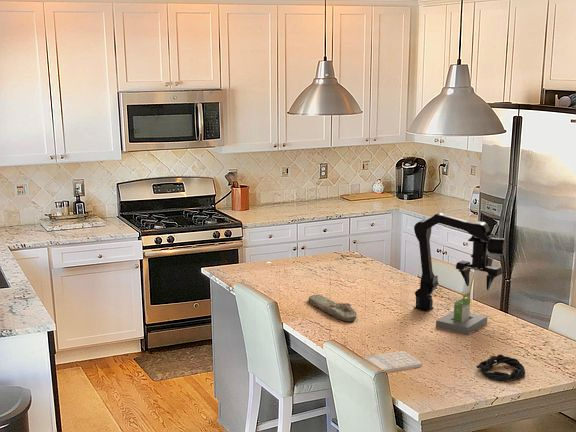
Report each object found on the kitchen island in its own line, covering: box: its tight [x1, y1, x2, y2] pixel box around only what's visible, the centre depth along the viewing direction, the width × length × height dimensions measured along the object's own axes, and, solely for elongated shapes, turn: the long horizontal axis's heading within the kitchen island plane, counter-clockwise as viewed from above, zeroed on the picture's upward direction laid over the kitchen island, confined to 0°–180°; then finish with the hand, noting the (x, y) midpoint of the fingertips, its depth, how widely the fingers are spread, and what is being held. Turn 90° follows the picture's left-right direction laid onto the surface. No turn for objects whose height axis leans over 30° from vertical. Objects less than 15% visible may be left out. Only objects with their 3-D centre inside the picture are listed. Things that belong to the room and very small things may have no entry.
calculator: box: [362, 350, 423, 373], centre depth 265 cm, size 13×20×2 cm, turn 111°
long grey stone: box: [307, 294, 357, 322], centre depth 324 cm, size 35×5×10 cm
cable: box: [475, 354, 526, 382], centre depth 257 cm, size 17×14×4 cm
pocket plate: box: [435, 310, 488, 336], centre depth 305 cm, size 14×18×3 cm
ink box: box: [453, 291, 471, 323], centre depth 304 cm, size 7×4×13 cm, turn 140°
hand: (477, 288), depth 313 cm, fingers open, 9 cm apart
